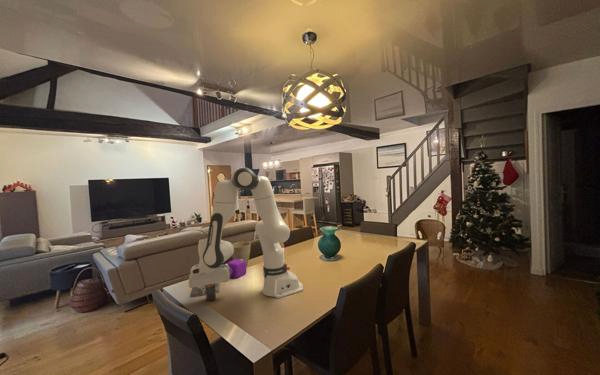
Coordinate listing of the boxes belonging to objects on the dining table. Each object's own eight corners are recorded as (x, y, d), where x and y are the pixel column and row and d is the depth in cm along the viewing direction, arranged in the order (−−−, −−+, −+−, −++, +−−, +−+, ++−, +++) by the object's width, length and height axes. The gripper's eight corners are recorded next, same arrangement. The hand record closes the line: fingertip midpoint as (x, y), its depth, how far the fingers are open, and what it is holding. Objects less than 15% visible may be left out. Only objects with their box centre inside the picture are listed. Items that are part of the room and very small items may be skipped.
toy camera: (221, 279, 154) (220, 264, 154) (234, 271, 167) (233, 257, 166) (236, 281, 150) (235, 265, 150) (248, 272, 163) (247, 258, 163)
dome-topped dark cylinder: (216, 295, 132) (215, 281, 132) (215, 299, 127) (214, 284, 127) (206, 297, 131) (205, 282, 130) (205, 301, 126) (204, 286, 126)
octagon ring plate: (219, 282, 150) (218, 275, 150) (218, 292, 136) (218, 284, 136) (194, 286, 146) (194, 279, 145) (191, 297, 132) (191, 289, 132)
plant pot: (248, 261, 186) (246, 240, 186) (255, 266, 174) (253, 244, 173) (228, 265, 179) (227, 244, 178) (234, 271, 166) (232, 248, 165)
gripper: (229, 261, 134) (230, 286, 135) (188, 267, 128) (190, 293, 129) (229, 265, 128) (231, 290, 129) (186, 271, 122) (189, 298, 123)
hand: (210, 292), depth 129 cm, fingers closed on dome-topped dark cylinder, 5 cm apart
